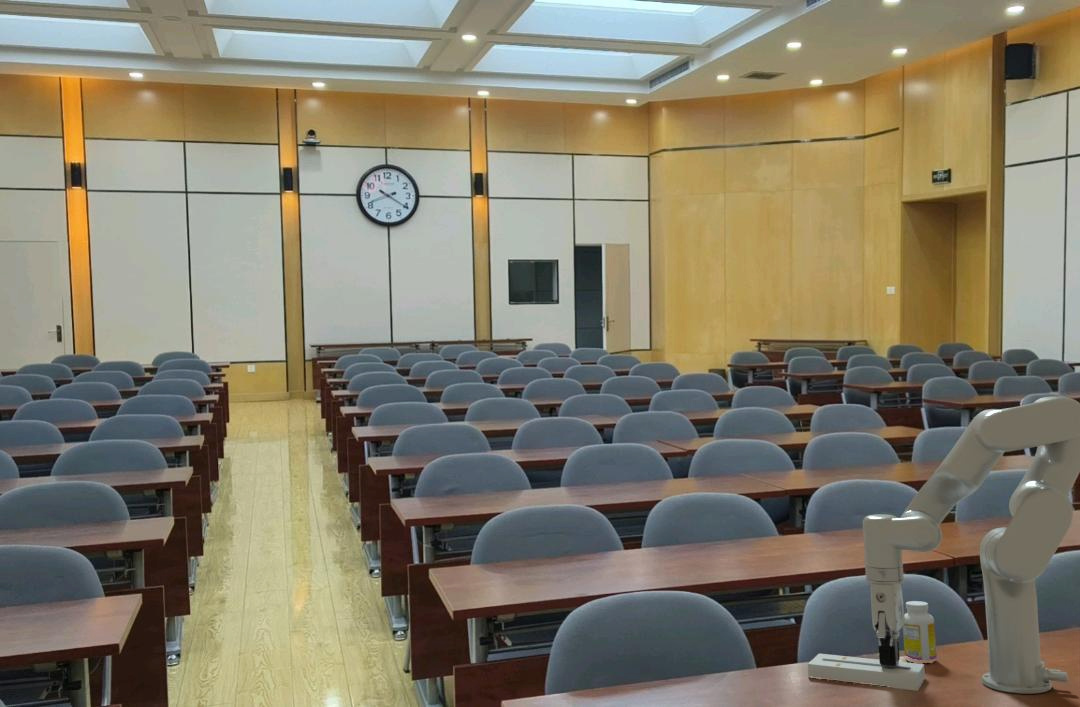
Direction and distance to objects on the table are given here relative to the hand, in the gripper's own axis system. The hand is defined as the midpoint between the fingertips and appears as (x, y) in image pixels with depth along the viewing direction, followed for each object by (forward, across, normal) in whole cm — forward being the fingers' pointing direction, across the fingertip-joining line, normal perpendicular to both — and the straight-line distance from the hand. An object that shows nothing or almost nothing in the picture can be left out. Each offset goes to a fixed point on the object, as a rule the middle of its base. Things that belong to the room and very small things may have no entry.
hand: (889, 661), depth 195 cm
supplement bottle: (+4, +18, -3) cm, 19 cm away
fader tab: (+1, 0, 0) cm, 1 cm away
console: (+4, 0, +5) cm, 6 cm away
